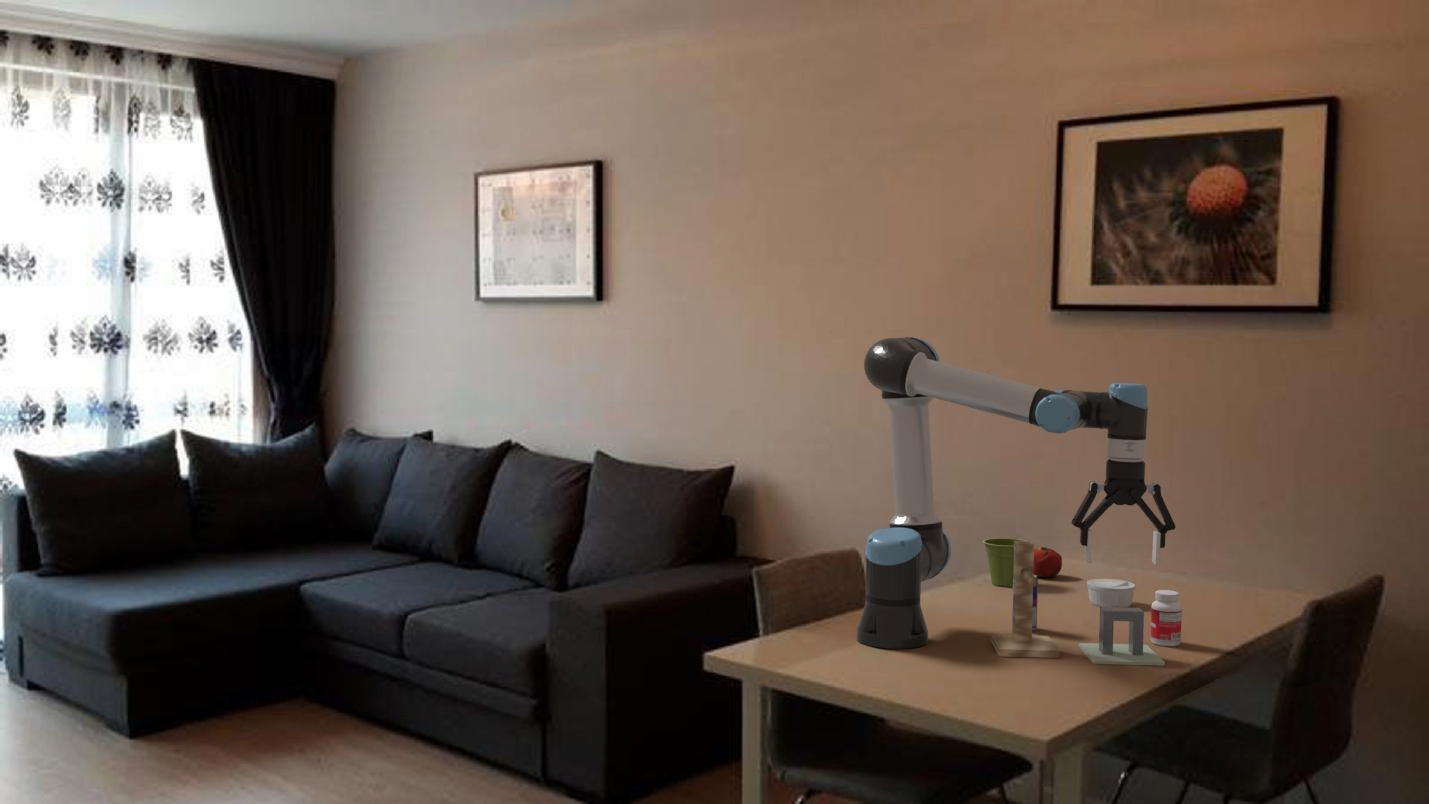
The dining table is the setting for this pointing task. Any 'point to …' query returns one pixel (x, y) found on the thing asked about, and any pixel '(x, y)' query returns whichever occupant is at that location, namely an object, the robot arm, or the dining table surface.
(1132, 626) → the c link
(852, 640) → the dining table surface
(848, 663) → the dining table surface
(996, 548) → the plant pot
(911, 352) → the robot arm
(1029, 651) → the stand
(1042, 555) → the tomato
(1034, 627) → the energy drink
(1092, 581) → the ramekin
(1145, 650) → the mat
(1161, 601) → the pill bottle
